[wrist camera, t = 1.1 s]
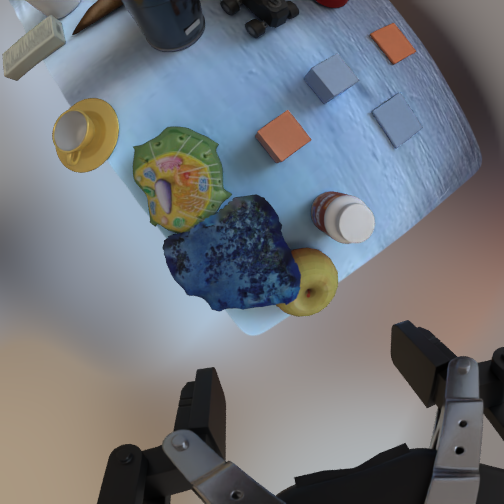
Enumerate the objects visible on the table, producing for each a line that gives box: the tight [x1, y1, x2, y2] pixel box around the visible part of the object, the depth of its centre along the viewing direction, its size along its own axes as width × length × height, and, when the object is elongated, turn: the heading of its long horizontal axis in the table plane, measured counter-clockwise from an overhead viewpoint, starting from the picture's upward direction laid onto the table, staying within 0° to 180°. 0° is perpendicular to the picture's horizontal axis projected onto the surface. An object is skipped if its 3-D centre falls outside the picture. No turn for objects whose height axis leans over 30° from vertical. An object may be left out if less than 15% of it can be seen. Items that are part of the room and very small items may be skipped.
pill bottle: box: [311, 192, 375, 244], centre depth 38 cm, size 6×6×11 cm
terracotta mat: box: [370, 23, 416, 65], centre depth 37 cm, size 6×6×1 cm
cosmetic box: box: [3, 15, 66, 81], centre depth 31 cm, size 6×4×12 cm
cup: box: [52, 98, 119, 173], centre depth 36 cm, size 12×12×5 cm
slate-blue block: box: [304, 53, 359, 104], centre depth 37 cm, size 5×5×5 cm
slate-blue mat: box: [372, 92, 423, 148], centre depth 40 cm, size 7×7×1 cm
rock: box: [163, 195, 301, 311], centre depth 39 cm, size 15×17×2 cm
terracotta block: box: [255, 110, 311, 163], centre depth 38 cm, size 5×5×5 cm
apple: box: [276, 248, 338, 317], centre depth 42 cm, size 10×10×8 cm
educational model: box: [133, 127, 232, 234], centre depth 39 cm, size 13×16×5 cm
